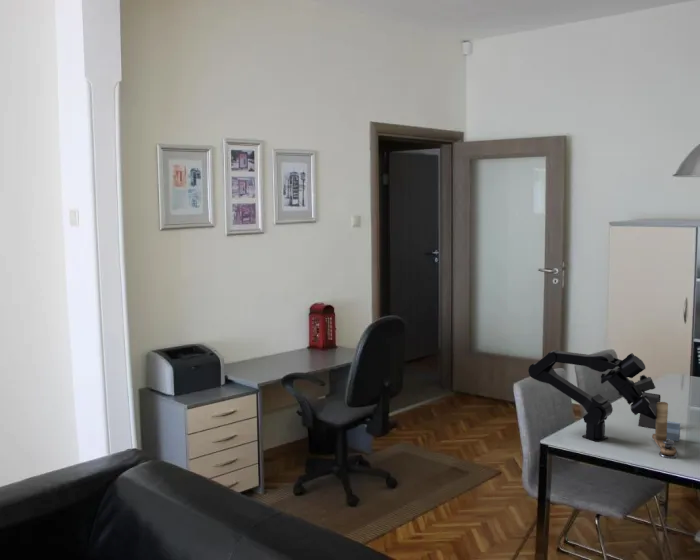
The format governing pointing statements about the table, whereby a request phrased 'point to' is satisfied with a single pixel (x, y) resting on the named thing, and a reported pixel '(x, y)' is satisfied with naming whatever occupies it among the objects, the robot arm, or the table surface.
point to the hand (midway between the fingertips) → (655, 418)
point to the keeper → (673, 430)
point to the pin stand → (668, 445)
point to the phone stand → (653, 400)
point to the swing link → (662, 428)
